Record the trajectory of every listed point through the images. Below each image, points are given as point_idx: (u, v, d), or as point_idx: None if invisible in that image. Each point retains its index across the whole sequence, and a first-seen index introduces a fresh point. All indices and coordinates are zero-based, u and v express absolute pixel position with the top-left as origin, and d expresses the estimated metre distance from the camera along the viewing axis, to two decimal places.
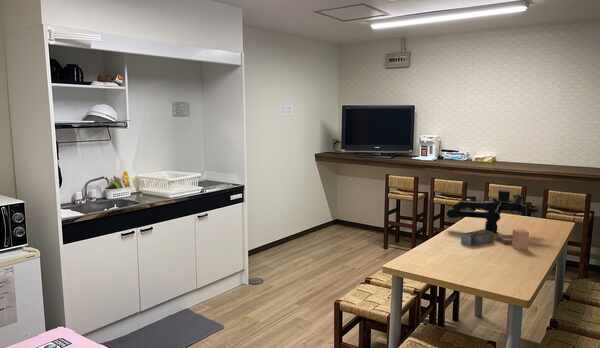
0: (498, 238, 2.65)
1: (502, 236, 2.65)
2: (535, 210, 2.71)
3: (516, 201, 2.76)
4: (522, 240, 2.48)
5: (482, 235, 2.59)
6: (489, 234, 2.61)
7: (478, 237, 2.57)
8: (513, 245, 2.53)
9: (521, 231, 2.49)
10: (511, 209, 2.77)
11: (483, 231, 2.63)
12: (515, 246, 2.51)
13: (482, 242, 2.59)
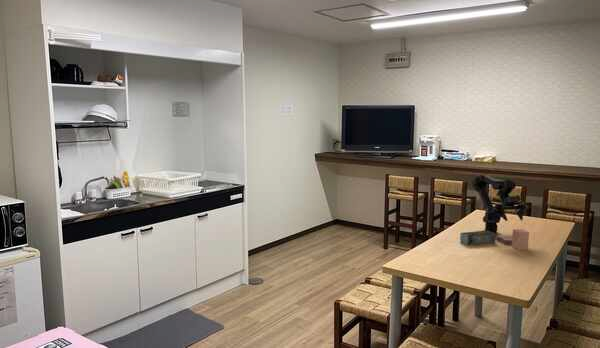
0: (498, 238, 2.65)
1: (502, 236, 2.65)
2: (504, 218, 2.58)
3: (506, 199, 2.62)
4: (522, 240, 2.48)
5: (481, 235, 2.58)
6: (490, 235, 2.59)
7: (476, 237, 2.57)
8: (513, 245, 2.53)
9: (521, 231, 2.49)
10: (501, 200, 2.67)
11: (484, 232, 2.62)
12: (515, 246, 2.51)
13: (481, 242, 2.59)
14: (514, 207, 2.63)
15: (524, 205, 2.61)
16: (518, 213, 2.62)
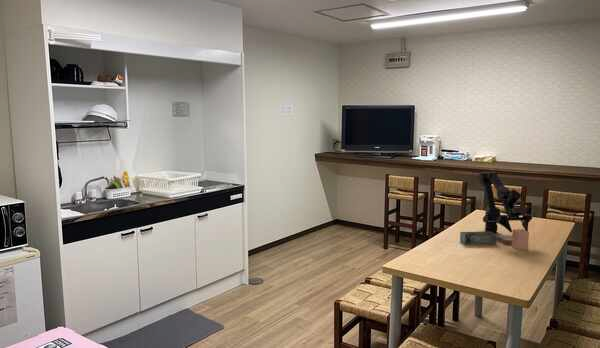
0: (498, 238, 2.65)
1: (502, 236, 2.65)
2: (509, 229, 2.53)
3: (511, 210, 2.56)
4: (522, 240, 2.48)
5: (480, 235, 2.58)
6: (490, 236, 2.58)
7: (475, 237, 2.58)
8: (513, 245, 2.53)
9: (521, 231, 2.49)
10: None
11: (485, 232, 2.61)
12: (515, 246, 2.51)
13: (480, 243, 2.58)
14: (519, 218, 2.57)
15: (529, 216, 2.55)
16: (523, 224, 2.56)
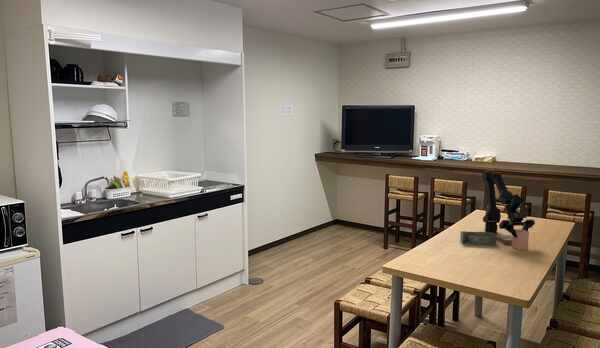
0: (498, 238, 2.65)
1: (502, 236, 2.65)
2: (514, 235, 2.50)
3: (513, 215, 2.53)
4: (522, 240, 2.48)
5: (479, 236, 2.57)
6: (489, 236, 2.56)
7: (473, 237, 2.58)
8: (513, 245, 2.53)
9: (521, 231, 2.49)
10: (508, 216, 2.59)
11: (486, 233, 2.60)
12: (515, 246, 2.51)
13: (479, 243, 2.58)
14: (522, 223, 2.54)
15: (532, 221, 2.52)
16: None
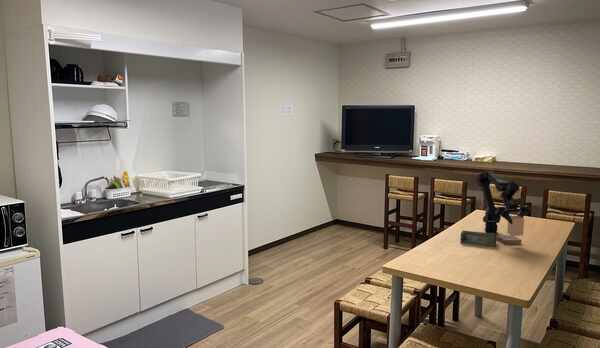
0: (498, 238, 2.65)
1: (502, 236, 2.65)
2: (509, 221, 2.55)
3: (509, 201, 2.57)
4: (518, 227, 2.53)
5: (477, 236, 2.57)
6: (488, 237, 2.55)
7: (471, 236, 2.59)
8: (508, 232, 2.57)
9: (516, 217, 2.53)
10: (504, 203, 2.63)
11: (486, 234, 2.58)
12: (510, 232, 2.55)
13: (477, 243, 2.58)
14: (517, 210, 2.59)
15: (527, 208, 2.57)
16: None
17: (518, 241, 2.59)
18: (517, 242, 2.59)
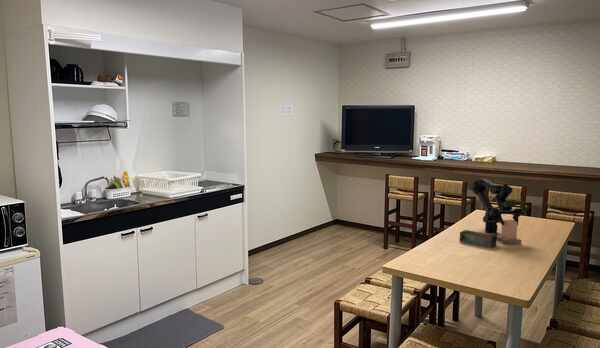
0: (498, 238, 2.65)
1: None
2: (501, 223, 2.61)
3: (503, 204, 2.64)
4: (511, 230, 2.60)
5: (474, 235, 2.58)
6: (484, 238, 2.54)
7: (469, 236, 2.60)
8: (502, 235, 2.64)
9: (510, 221, 2.61)
10: (498, 205, 2.70)
11: (485, 234, 2.57)
12: (504, 236, 2.62)
13: (474, 243, 2.58)
14: (511, 212, 2.66)
15: (521, 210, 2.64)
16: (514, 218, 2.65)
17: (518, 241, 2.59)
18: (517, 242, 2.59)
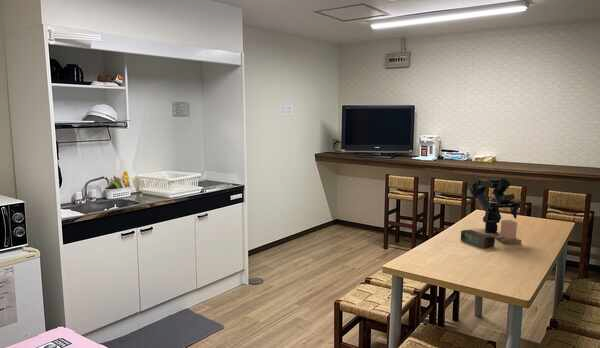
0: (498, 238, 2.65)
1: None
2: (498, 216, 2.64)
3: (500, 197, 2.67)
4: (511, 230, 2.59)
5: (472, 235, 2.59)
6: (479, 238, 2.53)
7: (468, 235, 2.62)
8: (502, 235, 2.64)
9: (510, 221, 2.60)
10: None
11: (482, 235, 2.56)
12: (504, 236, 2.62)
13: (472, 242, 2.59)
14: (508, 205, 2.68)
15: (518, 203, 2.66)
16: (512, 211, 2.67)
17: (518, 241, 2.59)
18: (517, 242, 2.59)
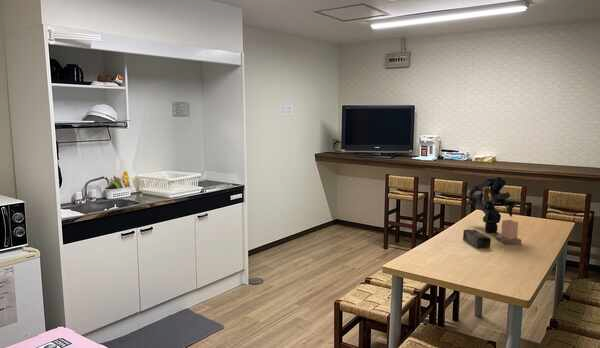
0: (498, 238, 2.65)
1: None
2: (494, 214, 2.69)
3: (496, 196, 2.72)
4: (513, 230, 2.59)
5: (470, 234, 2.60)
6: (474, 238, 2.54)
7: (467, 234, 2.63)
8: (503, 236, 2.63)
9: (511, 221, 2.60)
10: None
11: (479, 235, 2.55)
12: (506, 236, 2.61)
13: (469, 242, 2.60)
14: (504, 204, 2.73)
15: (514, 202, 2.71)
16: (508, 209, 2.72)
17: (518, 241, 2.59)
18: (517, 242, 2.59)
